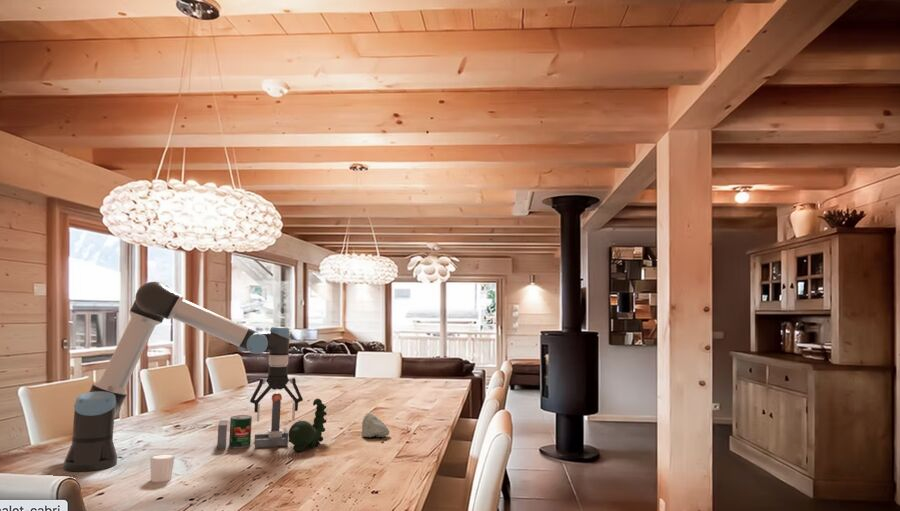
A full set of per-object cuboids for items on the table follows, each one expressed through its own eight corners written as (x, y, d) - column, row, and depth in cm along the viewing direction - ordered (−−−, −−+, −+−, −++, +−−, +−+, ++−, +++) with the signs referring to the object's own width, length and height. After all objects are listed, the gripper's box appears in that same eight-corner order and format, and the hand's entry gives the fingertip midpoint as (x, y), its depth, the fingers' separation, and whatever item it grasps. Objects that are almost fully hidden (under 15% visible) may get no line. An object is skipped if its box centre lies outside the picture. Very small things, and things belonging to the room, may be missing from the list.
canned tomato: (241, 442, 230) (242, 414, 231) (254, 445, 226) (256, 416, 227) (224, 446, 224) (226, 417, 225) (238, 449, 220) (239, 419, 221)
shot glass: (167, 475, 184) (168, 452, 184) (177, 479, 179) (179, 456, 180) (144, 479, 179) (146, 456, 179) (154, 484, 174) (156, 460, 175)
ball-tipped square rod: (281, 444, 227) (284, 393, 229) (268, 445, 225) (270, 394, 227) (280, 440, 233) (282, 391, 235) (267, 441, 232) (270, 391, 234)
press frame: (287, 446, 226) (288, 422, 226) (216, 450, 217) (218, 425, 218) (285, 440, 236) (286, 417, 237) (218, 443, 227) (219, 420, 228)
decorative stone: (351, 436, 244) (359, 419, 240) (363, 423, 254) (371, 406, 250) (376, 454, 242) (385, 437, 238) (388, 439, 252) (396, 423, 248)
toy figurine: (308, 445, 235) (278, 453, 212) (312, 397, 239) (283, 400, 215) (330, 446, 233) (301, 455, 209) (334, 398, 237) (306, 401, 213)
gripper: (309, 364, 240) (306, 417, 238) (245, 365, 232) (242, 419, 230) (311, 366, 233) (308, 420, 231) (245, 367, 225) (242, 423, 222)
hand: (275, 420), depth 230 cm, fingers open, 13 cm apart
